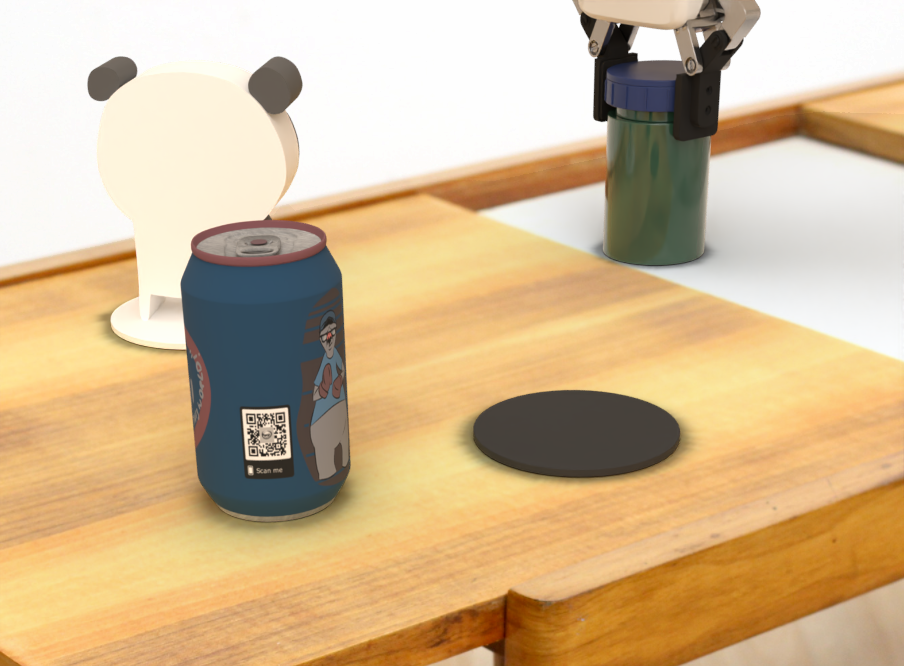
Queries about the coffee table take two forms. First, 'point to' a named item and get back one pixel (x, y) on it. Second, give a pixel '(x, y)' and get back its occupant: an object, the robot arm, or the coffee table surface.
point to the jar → (653, 190)
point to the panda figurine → (189, 167)
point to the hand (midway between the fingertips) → (653, 125)
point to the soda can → (267, 368)
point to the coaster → (576, 433)
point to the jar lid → (643, 85)
